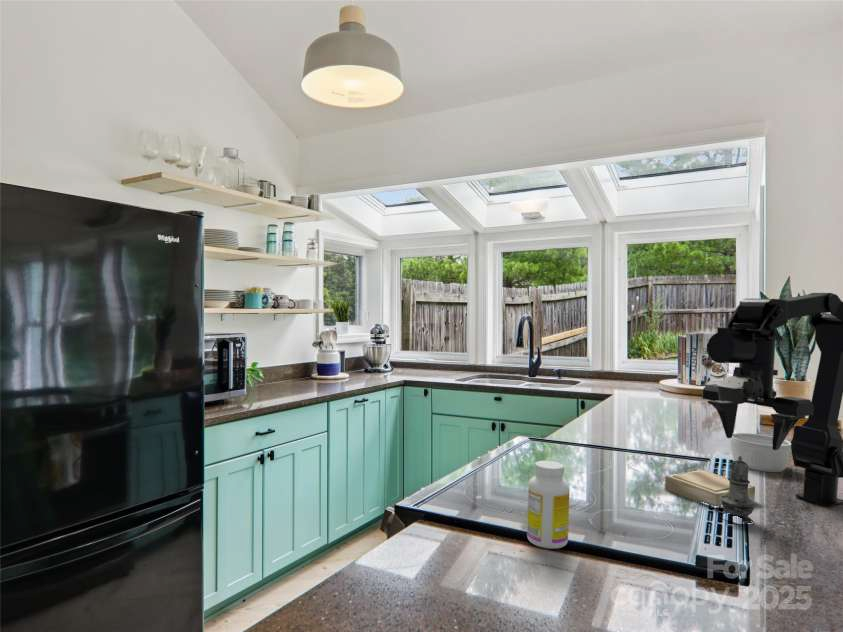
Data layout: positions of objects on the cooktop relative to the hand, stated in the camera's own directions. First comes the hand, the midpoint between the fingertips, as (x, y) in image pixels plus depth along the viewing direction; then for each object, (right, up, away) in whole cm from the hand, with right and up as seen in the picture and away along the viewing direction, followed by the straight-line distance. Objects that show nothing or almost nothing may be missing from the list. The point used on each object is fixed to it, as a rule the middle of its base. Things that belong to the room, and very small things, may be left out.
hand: (751, 443), depth 107 cm
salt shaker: (-5, -14, -3) cm, 15 cm away
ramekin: (+22, -14, +33) cm, 42 cm away
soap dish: (-3, -13, +10) cm, 17 cm away
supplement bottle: (-43, -13, -16) cm, 48 cm away
